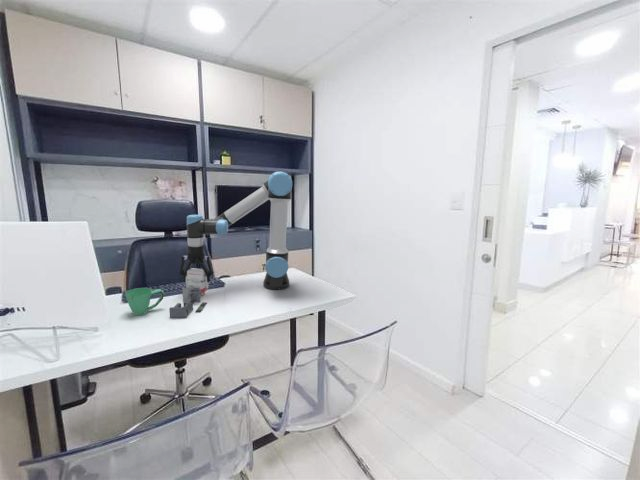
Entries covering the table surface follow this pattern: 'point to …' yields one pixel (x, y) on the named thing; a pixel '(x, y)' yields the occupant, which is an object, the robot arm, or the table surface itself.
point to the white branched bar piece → (191, 295)
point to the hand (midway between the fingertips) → (197, 287)
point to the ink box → (196, 279)
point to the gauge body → (184, 310)
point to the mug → (141, 299)
